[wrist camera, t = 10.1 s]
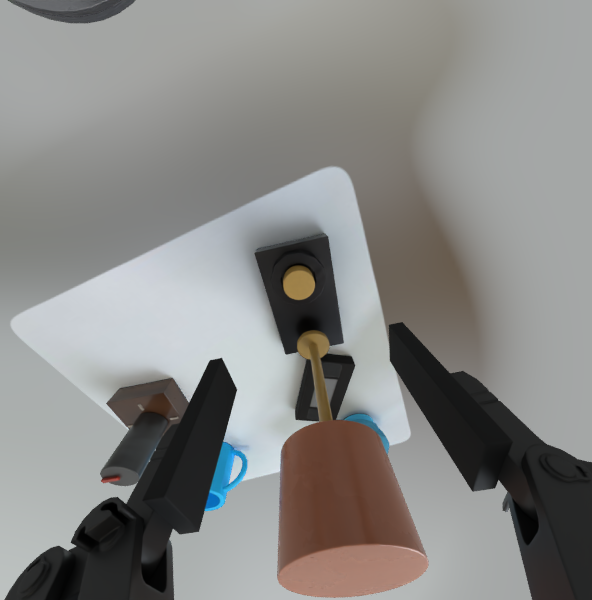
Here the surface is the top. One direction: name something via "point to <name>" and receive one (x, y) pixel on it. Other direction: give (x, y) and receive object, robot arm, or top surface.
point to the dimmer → (135, 450)
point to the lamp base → (312, 310)
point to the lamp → (341, 505)
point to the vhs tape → (336, 384)
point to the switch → (298, 282)
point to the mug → (224, 477)
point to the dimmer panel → (149, 402)
